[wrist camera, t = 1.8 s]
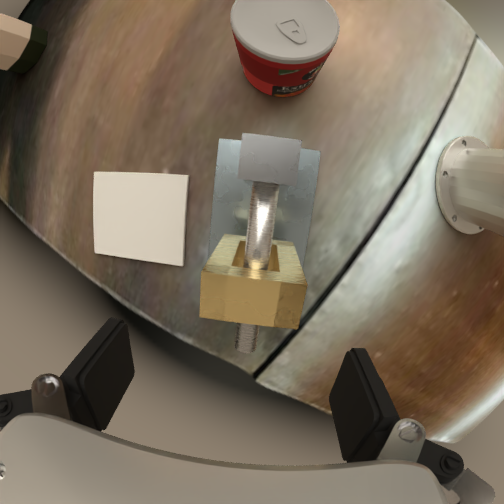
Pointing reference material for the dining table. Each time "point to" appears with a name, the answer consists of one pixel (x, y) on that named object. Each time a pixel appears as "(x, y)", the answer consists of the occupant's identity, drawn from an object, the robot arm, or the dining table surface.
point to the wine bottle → (20, 44)
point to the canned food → (283, 42)
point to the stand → (262, 202)
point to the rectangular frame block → (253, 286)
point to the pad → (140, 215)
